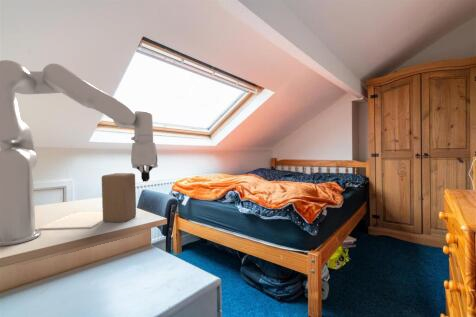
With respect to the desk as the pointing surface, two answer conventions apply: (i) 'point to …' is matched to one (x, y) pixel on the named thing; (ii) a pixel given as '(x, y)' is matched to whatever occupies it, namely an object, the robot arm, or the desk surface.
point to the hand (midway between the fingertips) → (145, 181)
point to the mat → (76, 221)
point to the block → (118, 197)
